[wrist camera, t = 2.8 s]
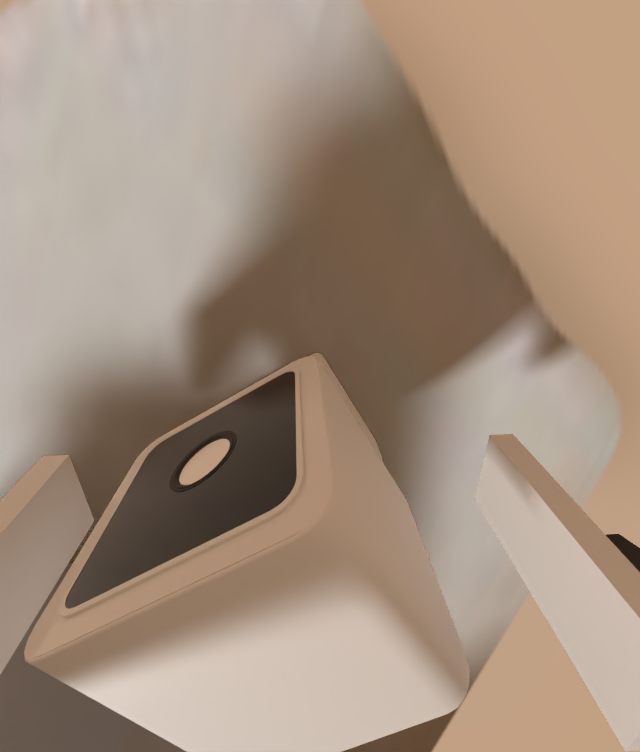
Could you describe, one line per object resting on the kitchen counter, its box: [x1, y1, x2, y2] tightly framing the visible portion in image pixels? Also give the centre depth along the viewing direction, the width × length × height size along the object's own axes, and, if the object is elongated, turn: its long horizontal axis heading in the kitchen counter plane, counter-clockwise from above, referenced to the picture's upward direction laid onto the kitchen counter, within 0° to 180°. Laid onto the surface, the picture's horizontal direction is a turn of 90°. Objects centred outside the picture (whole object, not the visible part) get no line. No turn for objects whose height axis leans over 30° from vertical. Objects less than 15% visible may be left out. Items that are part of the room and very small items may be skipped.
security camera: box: [24, 353, 470, 752], centre depth 11 cm, size 6×7×10 cm
